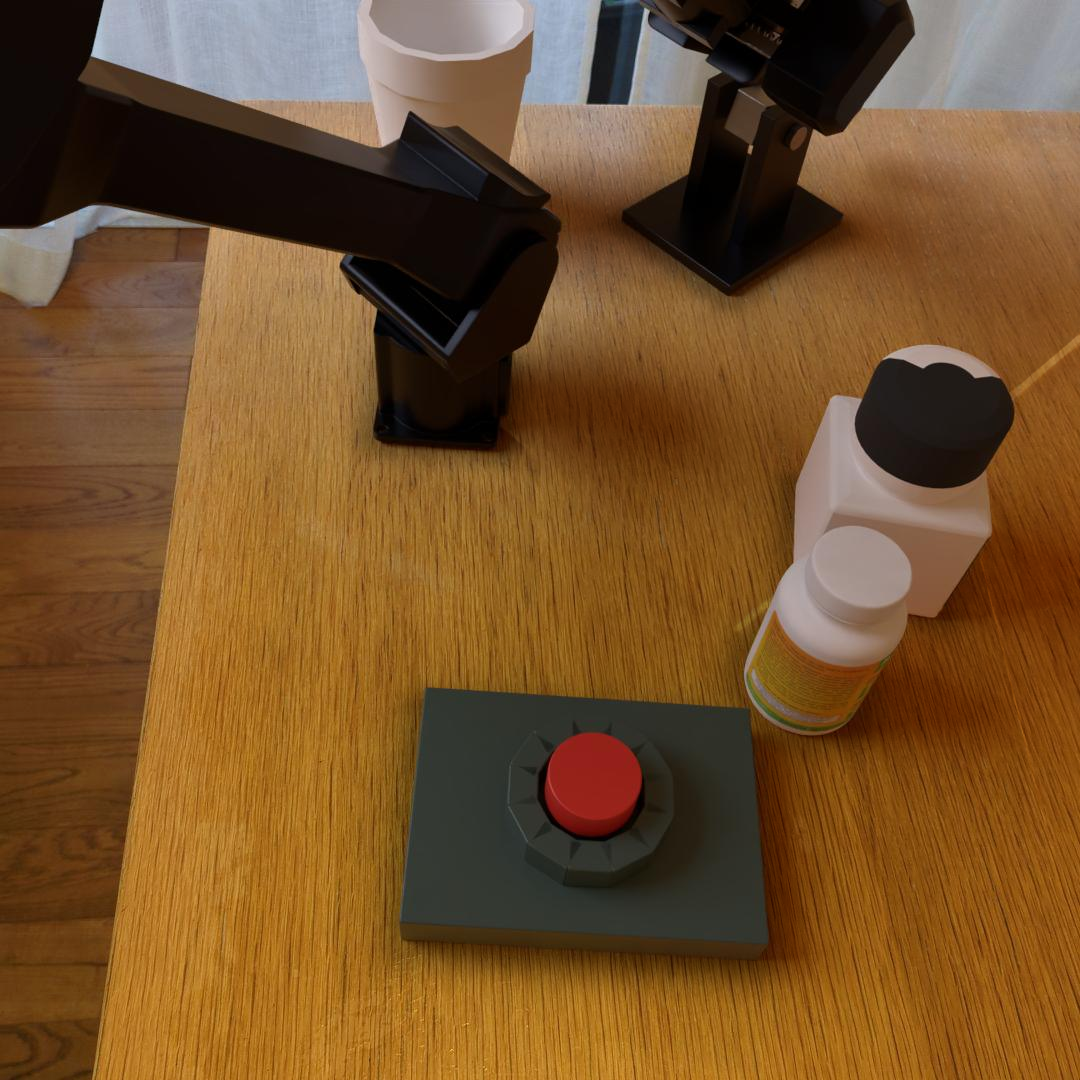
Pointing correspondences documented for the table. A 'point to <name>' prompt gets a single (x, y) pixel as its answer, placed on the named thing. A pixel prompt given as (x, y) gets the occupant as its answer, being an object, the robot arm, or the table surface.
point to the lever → (748, 112)
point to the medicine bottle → (910, 465)
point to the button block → (574, 860)
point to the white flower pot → (448, 64)
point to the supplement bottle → (829, 631)
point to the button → (592, 784)
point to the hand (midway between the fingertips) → (771, 61)
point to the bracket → (736, 197)
